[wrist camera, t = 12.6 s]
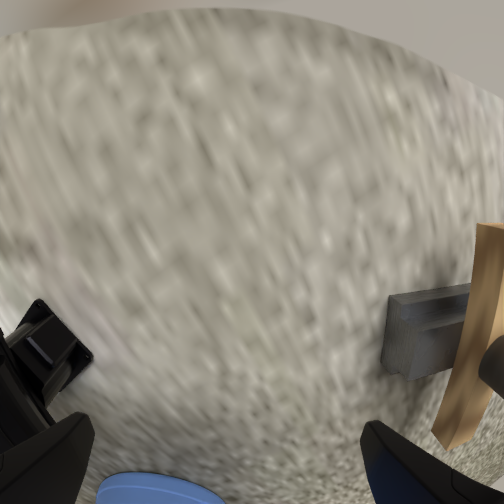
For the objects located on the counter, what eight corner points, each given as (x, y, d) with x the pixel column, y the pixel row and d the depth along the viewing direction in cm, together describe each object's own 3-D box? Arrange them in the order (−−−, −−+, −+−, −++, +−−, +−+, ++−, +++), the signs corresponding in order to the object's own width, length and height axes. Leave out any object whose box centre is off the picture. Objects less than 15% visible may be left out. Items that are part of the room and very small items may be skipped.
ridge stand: (380, 362, 23) (404, 391, 18) (389, 295, 22) (420, 318, 17) (478, 336, 24) (505, 355, 19) (489, 279, 22) (521, 293, 18)
